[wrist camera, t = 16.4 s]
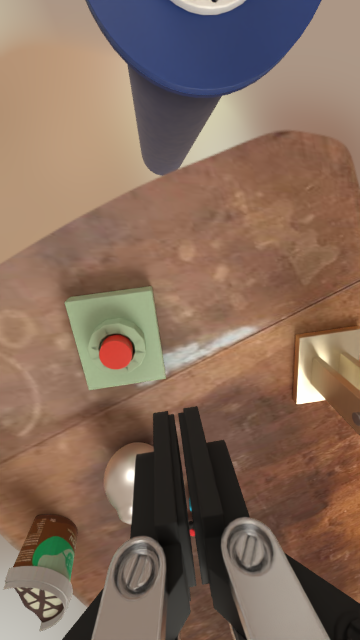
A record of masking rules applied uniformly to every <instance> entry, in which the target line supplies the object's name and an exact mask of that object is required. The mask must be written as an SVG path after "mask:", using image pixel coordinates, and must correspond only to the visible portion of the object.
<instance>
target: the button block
mask: <svg viewBox="0 0 360 640" xmlns="http://www.w3.org/2000/svg"><path fill="white" fill-rule="evenodd" d="M65 306H66V310H67V313H68V317H69V320H70V324H71V327H72V331H73V335H74V338H75V342H76V345H77V349H78V352H79V356H80V360H81V363H82V367H83V370H84V374H85V377H86V381H87V385H88V388H89V390H94V389H100V388H107V387H114V386H120V385H127V384H133V383H140V382H146V381H153V380H159V379H165V378H166V376H165V367H164V360H163V354H162V347H161V341H160V335H159V328H158V322H157V315H156V309H155V302H154V296H153V289H152V286H148V287H141V288H134V289H126V290H119V291H111V292H104V293H97V294H89V295H82V296H74V297H69V298H68V300H67V301H66V302H65ZM112 335H122V336H125V337H126V338H128V339H129V340H130V342H131V343H132V346H133V352H132V359H131V361H130V363H129V364H128V365H127V366H126V367H124V368H122V369H110V368H108V367H106V366H105V365H103V364H102V362H101V361H100V358H99V351H100V348H101V346H102V343H103V341H104V340H105V339H106V338H107V337H109V336H112Z"/></svg>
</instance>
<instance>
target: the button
mask: <svg viewBox="0 0 360 640" xmlns="http://www.w3.org/2000/svg"><path fill="white" fill-rule="evenodd" d="M132 352H133V346H132V343H131V342H130V340H129V339H128V338H126V337H125V336H122V335H112V336H109V337H107V338H106V339H105V340H104V341H103V343H102V346H101V348H100V351H99V358H100V361H101V362H102V364H103V365H105V366H106V367H108V368H110V369H122V368H124V367H126V366H127V365H128V364H129V363H130V361H131V359H132Z"/></svg>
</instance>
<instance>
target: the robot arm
mask: <svg viewBox="0 0 360 640" xmlns="http://www.w3.org/2000/svg"><path fill="white" fill-rule="evenodd" d="M171 1H172V2H173V3H174V4H175V5H177V6H179V7H181V8H183V9H185V10H187V11H189V12H192V13H196V14H200V15H218V14H221V13H225V12H228V11H231V10H232V9H234V8H236V7H238V6H239V5H241V4H243V3H244V2H245V1H246V0H214V1H215V2H212V1H211V0H171ZM183 411H184V413H178V415H179V422H180V430H181V437H182V444H183V452H184V459H185V466H186V474H187V481H188V488H189V496H190V503H191V510H192V517H193V524H194V531H195V538H196V545H197V552H198V559H199V566H200V572H201V579H202V585H203V584H208V583H209V584H210V590H211V596H212V599H213V605H214V608H215V609H216V610H217V611H218V612H219V613H220V614H221V615H222V616H223V617H224V618H225V619H226V620H227V621H228V622H229V626H230V630H231V633H232V636H233V640H360V604H359V603H358V602H356V601H355V600H354V599H352V598H351V597H349V596H348V595H346V594H345V593H343V592H342V591H340V590H339V589H337V588H336V587H334V586H333V585H331V584H330V583H328V582H327V581H325V580H324V579H322V578H321V577H319V576H318V575H316V574H315V573H313V572H312V571H310V570H309V569H308V568H306V567H305V566H303V565H302V564H300V563H299V562H297V561H296V560H294V559H293V558H291V557H290V556H288V555H287V554H285V553H284V552H283V550H282V548H281V547H280V545H279V543H278V541H277V539H276V537H275V536H274V534H273V533H272V531H271V530H270V529H269V528H268V527H267V526H266V525H265V524H263V523H262V522H260V521H258V520H256V519H254V518H250V517H249V514H248V510H247V507H246V504H245V501H244V498H243V495H242V492H241V489H240V486H239V483H238V480H237V477H236V474H235V471H234V468H233V465H232V461H231V458H230V455H229V452H228V449H227V446H226V443H225V441H224V440H220V441H214V442H208V443H206V440H205V436H204V432H203V427H202V423H201V419H200V415H199V411H198V407H197V406H196V407H190V408H184V409H183ZM153 442H154V452H148V453H142V454H137V455H136V460H135V475H134V490H133V506H132V522H131V537H130V540H128V541H126V542H125V543H124V544H123V545H122V546H121V547H119V548H118V550H117V551H116V553H115V554H114V556H113V558H112V560H111V563H110V566H109V569H108V573H107V577H106V581H105V585H104V588H103V589H102V591H101V592H100V593H99V594H98V596H97V597H96V598H95V599H94V601H93V602H92V603H91V604H90V606H89V607H88V608H87V609H86V611H85V612H84V613H83V614H82V616H81V617H80V618H79V619H78V621H77V622H76V623H75V624H74V625H73V627H72V628H71V629H70V630H69V632H68V633H67V634H66V635H65V637H64V638H63V639H62V640H181V629H182V627H183V625H184V623H185V621H186V620H187V618H188V616H189V614H190V602H189V601H191V599H190V589H189V587H193V586H196V579H195V570H194V562H193V554H192V546H191V538H190V529H189V521H188V513H187V505H186V497H185V488H184V480H183V472H182V465H181V459H180V452H179V445H178V439H177V432H176V426H175V419H174V414H171V415H168V411H165V412H158V413H153Z"/></svg>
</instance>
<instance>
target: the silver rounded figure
mask: <svg viewBox="0 0 360 640" xmlns="http://www.w3.org/2000/svg"><path fill="white" fill-rule="evenodd" d="M148 452H154V447H153V446H151V445H149V444H146V443H141V442H135V443H130V444H127V445H125V446H123V447H122V448H120V449H119V450H118V451H117V452H116V453H115V454H114V455H113V456H112V457H111V459H110V461H109V462H108V465H107V467H106V470H105V475H104V488H105V493H106V496H107V498H108V500H109V502H110V503H111V504H112V506H113V507H114V508H115V509H116V510H117V512H118V516H119V518H120V519H121V520H122V521H123V522H126V523H128V524H131V522H132V506H133V490H134V475H135V460H136V455H137V454H142V453H148Z"/></svg>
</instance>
